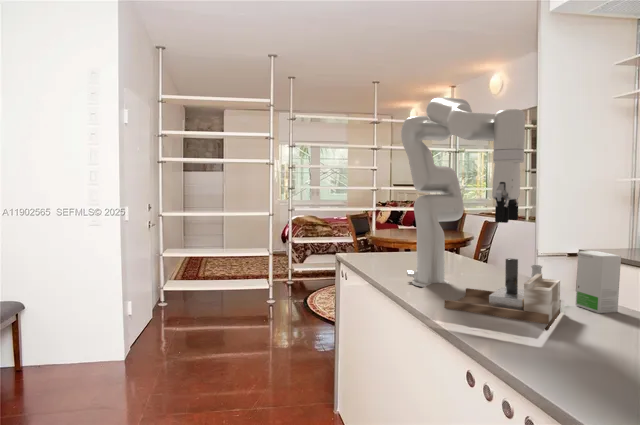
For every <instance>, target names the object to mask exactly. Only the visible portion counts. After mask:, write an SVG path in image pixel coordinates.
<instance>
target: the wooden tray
mask: <svg viewBox="0 0 640 425" xmlns="http://www.w3.org/2000/svg"><path fill="white" fill-rule="evenodd" d="M523 285H524V286H523V290H524V311H523V310H516V309H509V308H502V307H495V306H489V295H491V294H492V293H494V292H495V291H493V290H484V289H476V288H470V287H469V288H468V287H467V288H465V295H463V296H462V297H460V298H459V299H457V300H453V299H444V309H450V310H457V311H461V312H468V313H475V314H482V315H487V316H488V315H489V316H492V317H493V316H494V317H495V316H496V317H501V318H508V319H514V320H520V321H526V322H532V323H537V324H538V323H539V324H545V325H546V326H545V328H544V329H545V330H544V331H548V330H550V328H551V327H552V325H553V324H554V322H555V321H556V320H555V319H557V318H558V317H559V315H560V314H561V302H562V301H561V280H560V279H551V278H543V273H542V274H536V275H535V276H533V277H532V278H531V277H530V278H529V279H528V280H527V281H526V282H524V283H523ZM550 326H551V327H550Z"/></svg>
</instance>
